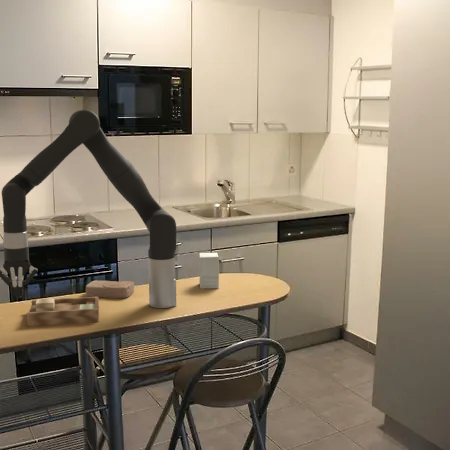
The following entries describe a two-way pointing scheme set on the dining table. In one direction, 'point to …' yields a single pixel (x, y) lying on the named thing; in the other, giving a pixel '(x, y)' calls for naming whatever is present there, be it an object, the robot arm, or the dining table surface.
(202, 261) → the supplement box
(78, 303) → the tray
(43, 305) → the block
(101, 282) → the brick
